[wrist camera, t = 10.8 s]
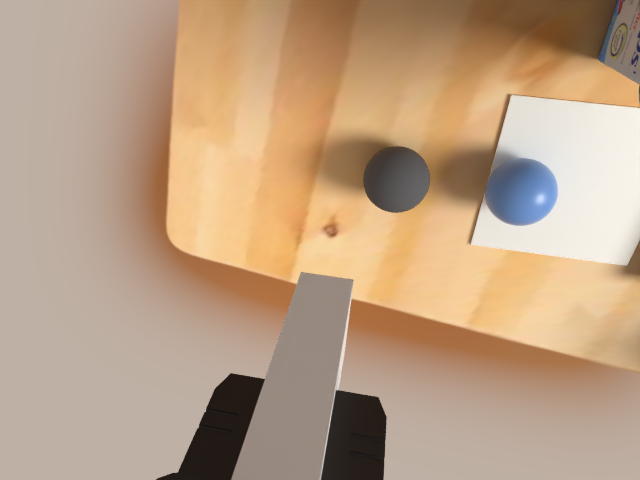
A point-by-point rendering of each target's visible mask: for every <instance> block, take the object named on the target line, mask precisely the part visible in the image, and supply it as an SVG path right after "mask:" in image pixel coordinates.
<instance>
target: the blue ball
mask: <svg viewBox="0 0 640 480" xmlns="http://www.w3.org/2000/svg"><path fill="white" fill-rule="evenodd" d="M557 197H558V184H557V181H556V178H555V176H554V174H553V173H552V171H551V170H550V169H549V168H548V167H547V166H545V165H544V164H543V163H541V162H539V161H536V160H533V159H528V158H517V159H512V160H509V161H507V162H505V163H503V164H501V165H500V166H498V167H497V168H496V169H495V170H494V171H493V172H492V174H491V175H490V177H489V179H488V180H487V183H486V187H485V200H486V203H487V206H488V208H489V210H490V211H491V213H492V214H493V215H494V216H495V217H496V218H498V219H499V220H501V221H502V222H504V223H507V224H510V225H515V226H525V225H530V224H534V223H536V222H538V221H540V220H542V219H543V218H544V217H546V216H547V215H548V214H549V213H550V212H551V210H552V209H553V207H554V206H555V203H556V201H557Z"/></svg>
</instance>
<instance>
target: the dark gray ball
mask: <svg viewBox="0 0 640 480" xmlns="http://www.w3.org/2000/svg"><path fill="white" fill-rule="evenodd" d="M363 181H364V188H365V191H366V194H367V196H368V198H369V199H370V200H371V202H372V203H373V204H374V205H376V206H377V207H379V208H380V209H382V210H384V211H388V212H394V213H397V212H404V211H407V210H410V209H412V208H414V207H415V206H417V205H418V204H419V203H420V202H421V201H422V200H423V198H424V197H425V195H426V193H427V191H428V188H429V183H430V174H429V170H428V167H427V165H426V163H425V161H424V160H423V158H422V157H421V156H420V155H419V154H418V153H416V152H415V151H413V150H411V149H409V148H405V147H398V146H397V147H389V148H386V149H384V150H382V151H380V152H378V153H377V154H376V155H374V156H373V157H372V159H371V160H370V161H369V163H368V164H367V166H366V169H365V172H364V179H363Z"/></svg>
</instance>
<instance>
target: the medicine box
mask: <svg viewBox="0 0 640 480" xmlns="http://www.w3.org/2000/svg"><path fill="white" fill-rule="evenodd" d="M599 61H601V62H602V63H604V64H605V65H607V66H609V67H611V68H612V69H614V70H616V71H617V72H619V73H621V74H622V75H624V76H626V77H627V78H629V79H631V80H632V81H634V82H636V83H638V84H639V85H640V13H639V0H618V1H617V4H616V7H615V10H614V13H613V16H612V19H611V22H610V25H609V28H608V31H607V34H606V37H605V40H604V43H603V46H602V49H601V52H600V55H599Z"/></svg>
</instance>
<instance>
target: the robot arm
mask: <svg viewBox="0 0 640 480" xmlns="http://www.w3.org/2000/svg"><path fill="white" fill-rule="evenodd" d="M639 13H640V0H639ZM639 102H640V86H639ZM353 281H354V280H352V279H345V278H338V277H332V276H325V275H318V274H311V273H304V272H301V274H300V277H299V280H298V283H297V286H296V289H295V292H294V295H293V298H292V301H291V304H290V307H289V310H288V312H287V316H286V318H285V321H284V325H283V327H282V330H281V333H280V336H279V339H278V342H277V345H276V348H275V351H274V354H273V357H272V360H271V363H270V366H269V369H268V372H267V375H266V378H265V379H261V378H255V377H250V376H244V375H238V374H232V373H231V374H230V375H229V376H228V377H227V378H226V379H225V380H224V381H223V382H222V383H220V384H219V385H218V386H217V387H216V388H215V390H214V392H213V395H212V397H211V399H210V401H209V404H208V406H207V409H206V412H205V413H204V415H203V417H202V419H201V422H200V424H199V428H198V429H197V431H196V433H195V435H194V437H193V440H192V442H191V444H190V446H189V449H188V451H187V453H186V455H185V458H184V460H183V462H182V464H181V467H180V469H179V472H178V473H172V474H169V475H166V476H163V477H160V478H158V479H156V480H383V476H384V457H385V436H386V415H385V413H384V410H383V408H382V405H381V403H380V400H379V398H378V397H374V396H368V395H362V394H356V393H350V392H344V391H339V390H338V389H339V383H340V377H341V371H342V365H343V358H344V353H345V345H346V337H347V329H348V321H349V312H350V304H351V297H352V289H353Z"/></svg>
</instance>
